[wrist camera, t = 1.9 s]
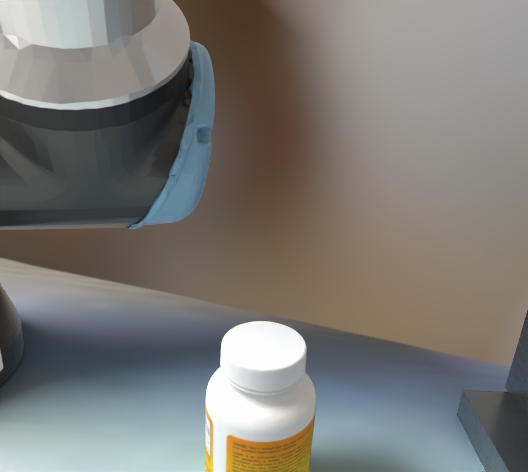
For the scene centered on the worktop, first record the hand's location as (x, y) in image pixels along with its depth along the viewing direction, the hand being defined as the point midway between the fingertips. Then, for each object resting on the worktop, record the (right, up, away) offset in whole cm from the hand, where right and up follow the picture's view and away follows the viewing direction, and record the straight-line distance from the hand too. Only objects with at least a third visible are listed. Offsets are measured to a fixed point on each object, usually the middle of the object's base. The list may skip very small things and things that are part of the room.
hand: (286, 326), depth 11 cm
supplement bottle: (-1, -12, +16) cm, 20 cm away
